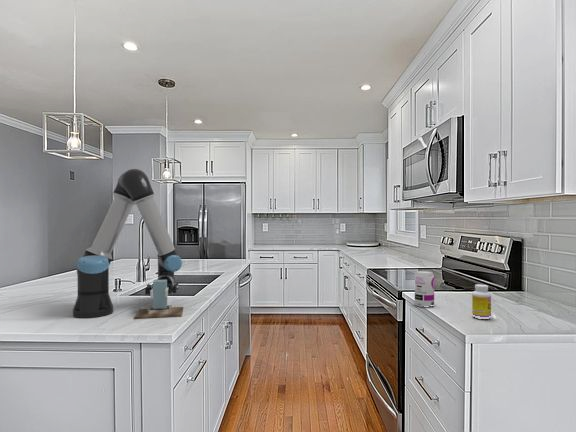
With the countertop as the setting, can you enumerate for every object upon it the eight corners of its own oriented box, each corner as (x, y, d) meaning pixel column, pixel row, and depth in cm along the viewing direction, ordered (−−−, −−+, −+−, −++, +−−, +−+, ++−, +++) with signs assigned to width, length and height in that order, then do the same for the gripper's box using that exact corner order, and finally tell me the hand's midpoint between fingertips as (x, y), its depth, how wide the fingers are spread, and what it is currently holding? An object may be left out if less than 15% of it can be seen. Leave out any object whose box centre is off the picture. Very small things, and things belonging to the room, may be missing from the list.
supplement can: (435, 304, 182) (434, 271, 182) (433, 308, 175) (433, 273, 175) (416, 303, 186) (416, 270, 186) (413, 306, 178) (413, 272, 178)
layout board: (134, 319, 159) (134, 313, 159) (139, 310, 172) (139, 305, 172) (181, 316, 162) (181, 310, 162) (183, 308, 176) (183, 303, 176)
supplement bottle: (490, 321, 154) (490, 287, 154) (471, 318, 157) (471, 285, 157) (491, 317, 160) (491, 284, 160) (473, 315, 163) (473, 283, 163)
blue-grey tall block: (153, 309, 164) (153, 282, 164) (154, 306, 169) (154, 280, 169) (166, 308, 165) (165, 281, 165) (167, 305, 170) (166, 279, 170)
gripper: (184, 291, 187) (182, 302, 164) (143, 293, 183) (135, 304, 160) (184, 275, 187) (182, 283, 164) (143, 276, 183) (134, 285, 160)
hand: (158, 294), depth 162 cm, fingers closed on blue-grey tall block, 5 cm apart
